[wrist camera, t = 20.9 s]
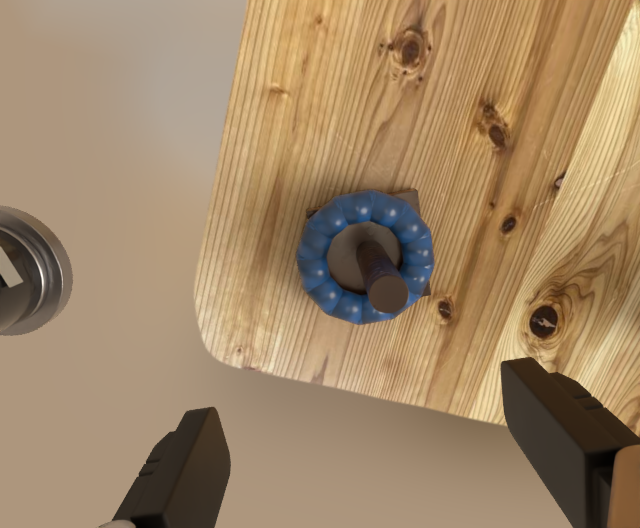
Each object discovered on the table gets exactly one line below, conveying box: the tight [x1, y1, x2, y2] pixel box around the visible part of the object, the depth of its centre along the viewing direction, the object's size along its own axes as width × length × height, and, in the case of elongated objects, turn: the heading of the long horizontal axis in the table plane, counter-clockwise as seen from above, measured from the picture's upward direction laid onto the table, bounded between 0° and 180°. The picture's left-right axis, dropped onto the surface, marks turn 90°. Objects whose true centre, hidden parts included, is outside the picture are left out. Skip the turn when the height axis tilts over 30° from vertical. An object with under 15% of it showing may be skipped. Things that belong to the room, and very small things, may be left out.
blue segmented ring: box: [296, 189, 435, 325], centre depth 33 cm, size 11×11×2 cm
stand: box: [306, 189, 431, 313], centre depth 30 cm, size 9×9×12 cm
